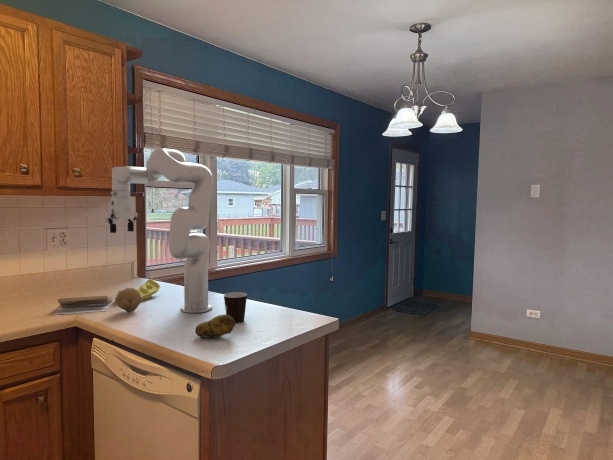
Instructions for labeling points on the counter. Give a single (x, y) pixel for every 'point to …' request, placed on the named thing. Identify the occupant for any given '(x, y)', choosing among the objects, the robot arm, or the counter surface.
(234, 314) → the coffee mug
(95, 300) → the plank
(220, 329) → the potato
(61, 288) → the counter surface
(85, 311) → the laid floor
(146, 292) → the plastic component
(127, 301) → the natural sponge
